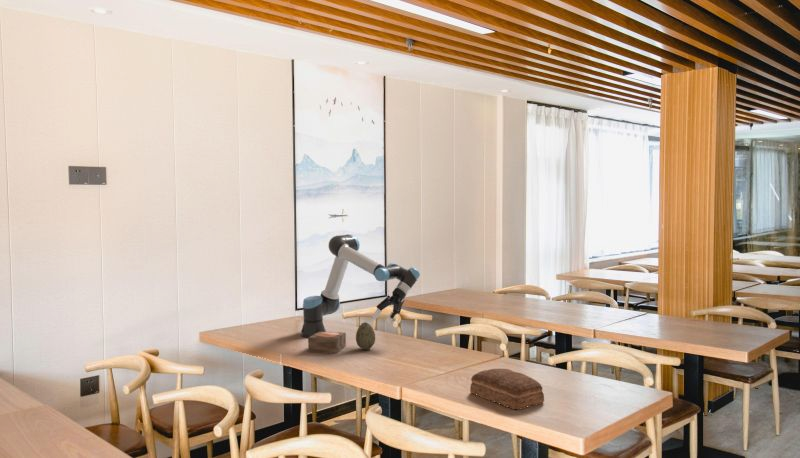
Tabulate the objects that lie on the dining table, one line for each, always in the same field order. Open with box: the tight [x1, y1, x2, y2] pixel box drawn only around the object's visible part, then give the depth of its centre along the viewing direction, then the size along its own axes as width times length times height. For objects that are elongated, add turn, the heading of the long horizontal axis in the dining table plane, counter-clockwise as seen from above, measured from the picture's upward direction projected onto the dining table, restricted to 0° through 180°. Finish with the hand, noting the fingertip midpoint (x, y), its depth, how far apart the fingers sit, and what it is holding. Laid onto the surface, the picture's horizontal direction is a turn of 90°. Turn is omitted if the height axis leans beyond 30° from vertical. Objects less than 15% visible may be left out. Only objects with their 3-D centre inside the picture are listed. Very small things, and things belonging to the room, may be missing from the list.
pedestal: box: [307, 331, 347, 354], centre depth 354 cm, size 16×16×8 cm
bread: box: [469, 368, 545, 410], centre depth 263 cm, size 17×29×11 cm, turn 33°
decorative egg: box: [355, 321, 376, 351], centre depth 353 cm, size 11×11×15 cm
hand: (379, 320), depth 357 cm, fingers open, 13 cm apart
